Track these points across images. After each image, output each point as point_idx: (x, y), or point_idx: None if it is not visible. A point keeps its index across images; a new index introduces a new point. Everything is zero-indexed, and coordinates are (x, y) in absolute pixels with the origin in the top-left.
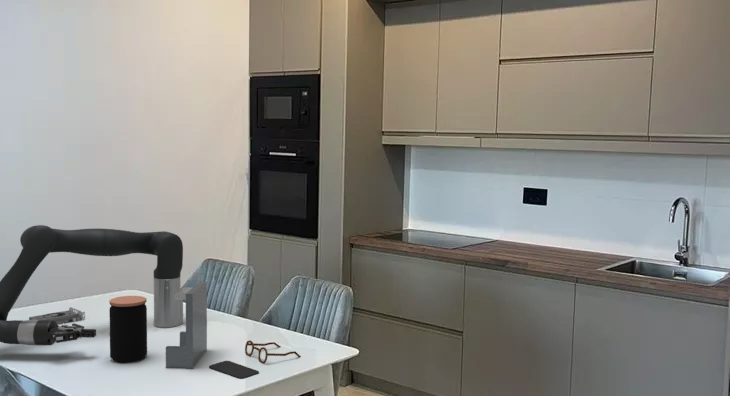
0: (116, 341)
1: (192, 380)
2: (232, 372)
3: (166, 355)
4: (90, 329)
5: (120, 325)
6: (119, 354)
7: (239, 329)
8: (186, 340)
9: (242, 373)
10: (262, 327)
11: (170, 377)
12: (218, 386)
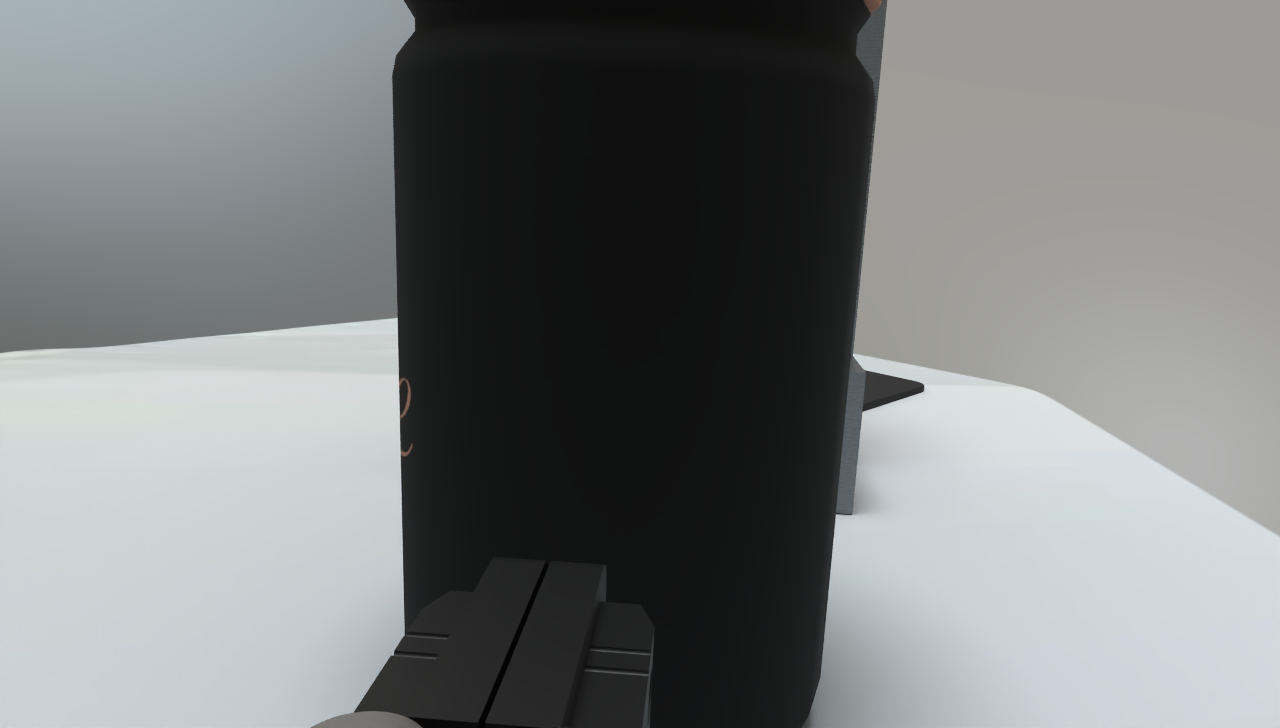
0: (829, 497)
1: (1017, 452)
2: (870, 391)
3: (858, 428)
4: (513, 604)
5: (858, 271)
6: (823, 630)
7: (114, 378)
8: (858, 294)
9: (872, 381)
10: (147, 350)
11: (1019, 496)
12: (1044, 415)
